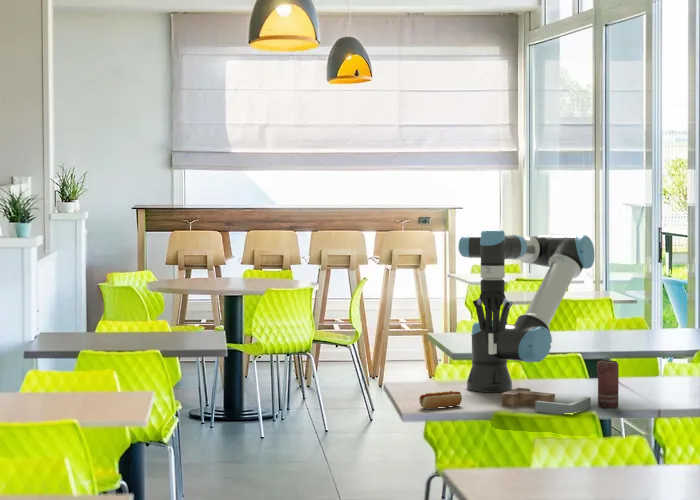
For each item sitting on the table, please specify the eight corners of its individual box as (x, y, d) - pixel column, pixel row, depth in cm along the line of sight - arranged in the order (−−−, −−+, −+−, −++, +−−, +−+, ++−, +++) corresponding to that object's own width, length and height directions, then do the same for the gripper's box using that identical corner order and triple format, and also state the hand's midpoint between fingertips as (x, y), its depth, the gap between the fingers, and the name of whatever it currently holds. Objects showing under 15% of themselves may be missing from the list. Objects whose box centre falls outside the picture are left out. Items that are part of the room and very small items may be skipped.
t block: (501, 406, 328) (501, 393, 328) (518, 400, 338) (518, 387, 338) (544, 410, 320) (544, 397, 320) (560, 404, 330) (560, 391, 330)
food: (425, 411, 322) (424, 395, 322) (416, 408, 327) (416, 392, 327) (465, 407, 328) (465, 391, 327) (456, 404, 333) (456, 388, 332)
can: (594, 405, 328) (594, 360, 328) (614, 404, 329) (614, 359, 328) (600, 409, 322) (600, 363, 322) (621, 408, 323) (621, 362, 322)
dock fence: (535, 411, 319) (535, 401, 319) (555, 403, 332) (555, 393, 332) (571, 415, 313) (571, 405, 313) (590, 407, 325) (590, 397, 325)
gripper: (468, 278, 335) (468, 353, 336) (506, 280, 328) (506, 356, 329) (479, 277, 342) (479, 350, 343) (516, 278, 334) (516, 353, 335)
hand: (492, 353), depth 336 cm, fingers closed
